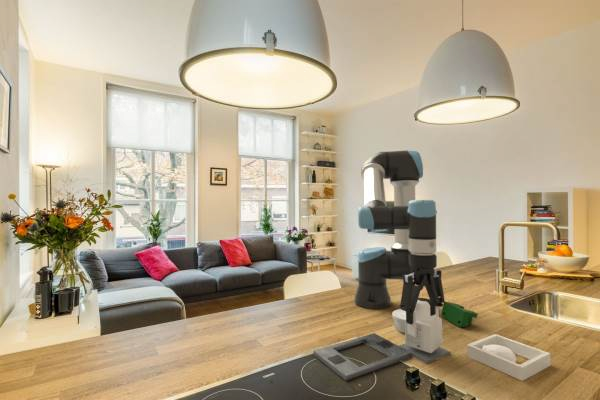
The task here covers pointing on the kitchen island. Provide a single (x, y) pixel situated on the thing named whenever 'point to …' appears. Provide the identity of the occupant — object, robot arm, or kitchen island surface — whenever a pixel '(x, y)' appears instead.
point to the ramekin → (399, 319)
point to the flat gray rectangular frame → (350, 369)
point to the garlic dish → (521, 372)
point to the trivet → (426, 353)
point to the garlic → (501, 351)
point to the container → (425, 327)
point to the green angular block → (457, 314)
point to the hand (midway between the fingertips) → (423, 331)
